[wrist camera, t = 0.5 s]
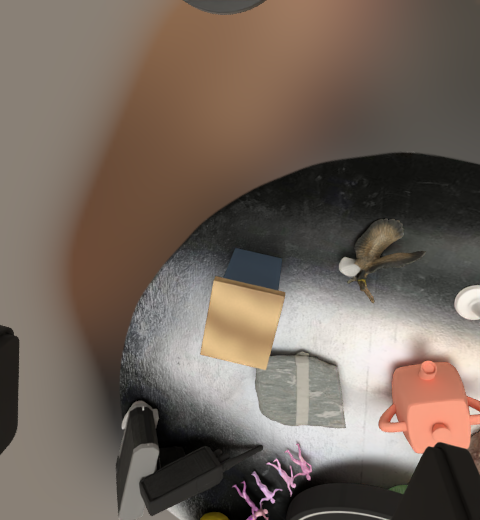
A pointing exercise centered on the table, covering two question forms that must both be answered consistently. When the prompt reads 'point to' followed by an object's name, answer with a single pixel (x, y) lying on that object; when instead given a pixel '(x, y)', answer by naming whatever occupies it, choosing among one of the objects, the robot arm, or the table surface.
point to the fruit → (214, 516)
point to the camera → (139, 458)
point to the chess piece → (468, 302)
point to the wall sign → (344, 503)
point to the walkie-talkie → (186, 477)
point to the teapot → (430, 406)
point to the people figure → (269, 494)
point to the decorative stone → (300, 391)
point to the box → (254, 269)
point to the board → (241, 322)
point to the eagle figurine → (376, 253)
